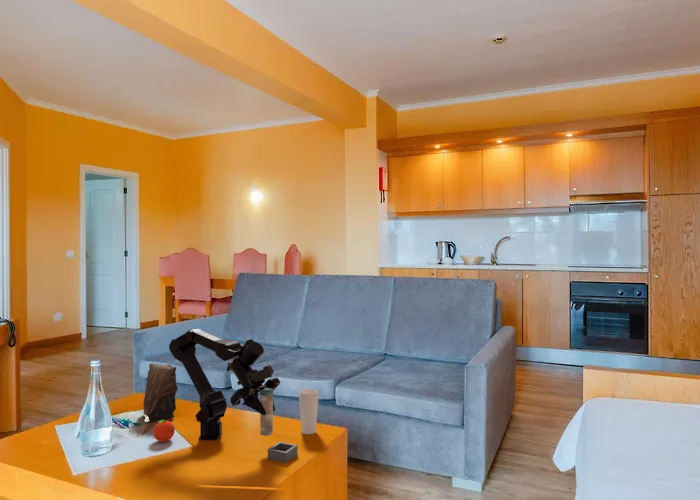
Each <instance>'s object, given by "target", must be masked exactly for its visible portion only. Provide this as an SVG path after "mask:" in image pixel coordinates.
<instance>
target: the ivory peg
mask: <svg viewBox="0 0 700 500" xmlns="http://www.w3.org/2000/svg"><path fill="white" fill-rule="evenodd" d="M259 394H260V397H261V399H260V402H261V404H262V406H263V407H264V409H265V411H266V414H265V415H262V414H261V413H259V414H260V416H259V417H260V419H259V420H260V421H259V422H260V427H259V429H260V430H259V434H260V436H263V437H268V436H272V435H273V434H274V430H273V429H274V411H273V401H274V391H273V389H262V390H260V393H259Z"/></svg>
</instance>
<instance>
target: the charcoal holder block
mask: <svg viewBox="0 0 700 500" xmlns="http://www.w3.org/2000/svg"><path fill="white" fill-rule="evenodd" d="M298 449H299V448H298V444H294V443H287V442H284V441H278V442H276V443H275V444H274V445H272V446H270V447H269V448H267V460H271V461H274V462H275V461H276V462H278V463H279V462H281V463H284V464H287V463H288V462H290V461H291V460H292V459H294V458H296V457H297V456H298V455H299V454H298Z"/></svg>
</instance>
